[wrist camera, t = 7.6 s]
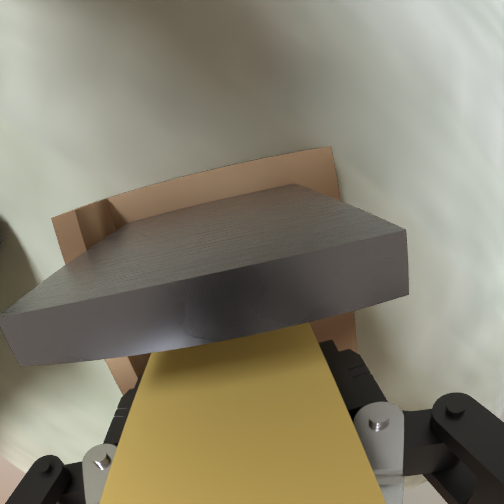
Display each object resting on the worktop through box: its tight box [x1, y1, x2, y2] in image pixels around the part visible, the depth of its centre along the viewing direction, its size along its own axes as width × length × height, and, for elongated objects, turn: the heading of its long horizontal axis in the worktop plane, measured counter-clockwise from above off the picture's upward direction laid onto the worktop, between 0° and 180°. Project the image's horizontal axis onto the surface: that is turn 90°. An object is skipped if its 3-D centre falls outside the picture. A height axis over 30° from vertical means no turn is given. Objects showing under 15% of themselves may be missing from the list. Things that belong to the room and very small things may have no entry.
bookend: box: [0, 183, 409, 366], centre depth 10 cm, size 1×8×10 cm, turn 102°
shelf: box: [51, 146, 357, 396], centre depth 12 cm, size 17×12×12 cm
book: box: [99, 322, 386, 504], centre depth 8 cm, size 4×6×9 cm, turn 102°
